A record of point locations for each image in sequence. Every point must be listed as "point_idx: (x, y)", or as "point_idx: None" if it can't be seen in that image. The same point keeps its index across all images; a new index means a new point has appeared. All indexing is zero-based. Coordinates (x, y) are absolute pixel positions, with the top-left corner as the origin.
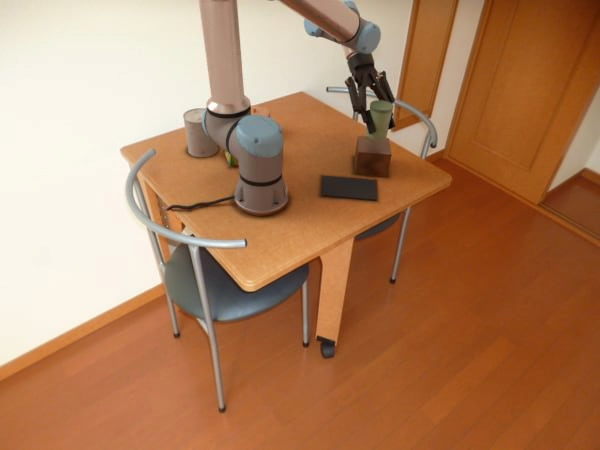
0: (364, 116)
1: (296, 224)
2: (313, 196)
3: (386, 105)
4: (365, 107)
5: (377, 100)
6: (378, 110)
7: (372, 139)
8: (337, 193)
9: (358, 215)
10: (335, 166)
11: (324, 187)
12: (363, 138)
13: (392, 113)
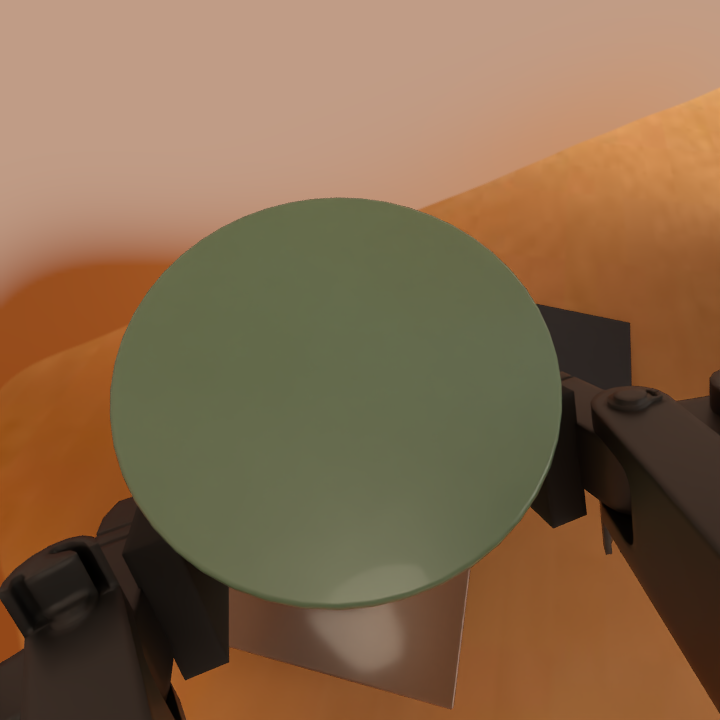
0: (577, 378)
1: (702, 202)
2: (661, 329)
3: (254, 338)
4: (625, 405)
5: (363, 586)
6: (441, 230)
7: (332, 617)
8: (560, 324)
9: (483, 218)
10: (557, 570)
11: (620, 369)
12: (409, 644)
13: (111, 520)
